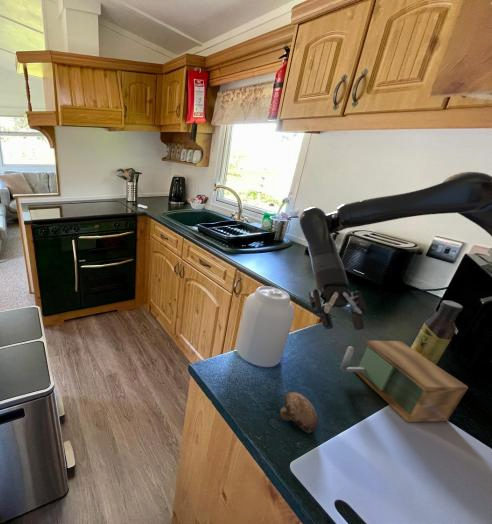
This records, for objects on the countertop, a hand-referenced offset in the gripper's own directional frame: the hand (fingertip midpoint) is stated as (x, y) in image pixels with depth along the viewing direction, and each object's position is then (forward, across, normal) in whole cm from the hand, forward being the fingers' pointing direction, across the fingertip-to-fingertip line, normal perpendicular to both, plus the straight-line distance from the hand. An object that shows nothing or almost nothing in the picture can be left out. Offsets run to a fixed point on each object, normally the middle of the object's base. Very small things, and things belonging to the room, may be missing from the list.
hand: (344, 328), depth 76 cm
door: (+12, +3, +3) cm, 13 cm away
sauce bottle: (+7, +30, +10) cm, 33 cm away
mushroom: (+21, -20, -4) cm, 29 cm away
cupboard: (+15, +11, +2) cm, 19 cm away
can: (+5, -19, +12) cm, 23 cm away
